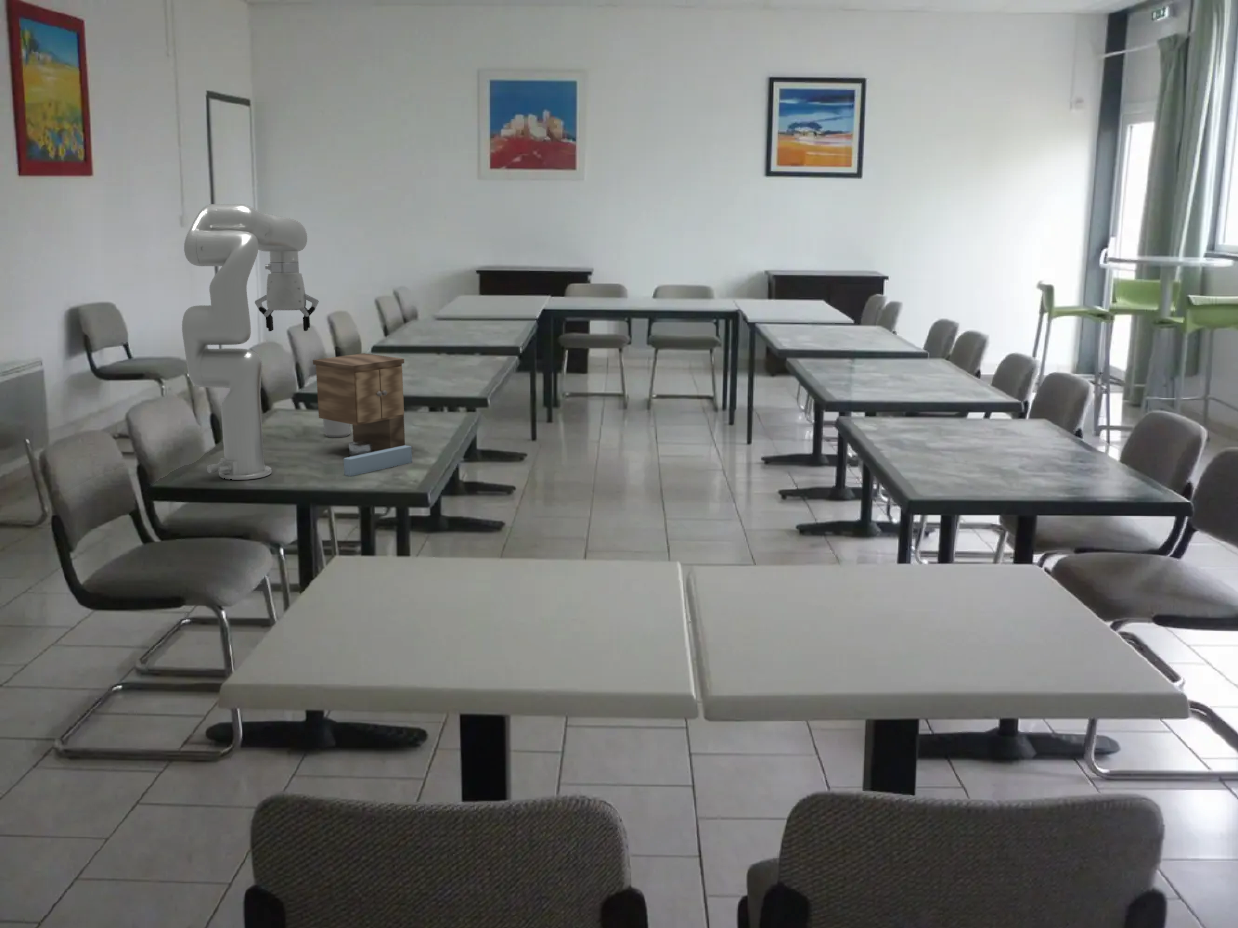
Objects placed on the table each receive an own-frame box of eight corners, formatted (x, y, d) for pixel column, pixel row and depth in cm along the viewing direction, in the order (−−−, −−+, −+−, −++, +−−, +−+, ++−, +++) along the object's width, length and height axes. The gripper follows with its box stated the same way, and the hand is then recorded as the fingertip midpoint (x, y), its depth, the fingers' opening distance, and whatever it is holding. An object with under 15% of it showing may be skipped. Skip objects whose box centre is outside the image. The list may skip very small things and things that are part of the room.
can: (354, 433, 360) (352, 392, 357) (346, 438, 352) (343, 397, 350) (329, 432, 360) (326, 392, 358) (320, 437, 353) (318, 396, 350)
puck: (359, 459, 326) (358, 446, 326) (344, 456, 330) (344, 443, 329) (377, 455, 331) (376, 443, 330) (362, 452, 335) (362, 440, 334)
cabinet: (360, 462, 323) (356, 366, 317) (318, 452, 334) (312, 359, 329) (411, 451, 335) (407, 359, 330) (368, 442, 347) (363, 353, 341)
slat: (350, 477, 308) (349, 459, 307) (344, 475, 309) (343, 458, 308) (412, 463, 323) (411, 446, 322) (405, 461, 324) (405, 445, 323)
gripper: (249, 269, 336) (253, 332, 340) (313, 269, 337) (317, 332, 341) (256, 267, 343) (260, 329, 347) (319, 267, 344) (322, 329, 348)
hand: (288, 330), depth 344 cm, fingers open, 9 cm apart
